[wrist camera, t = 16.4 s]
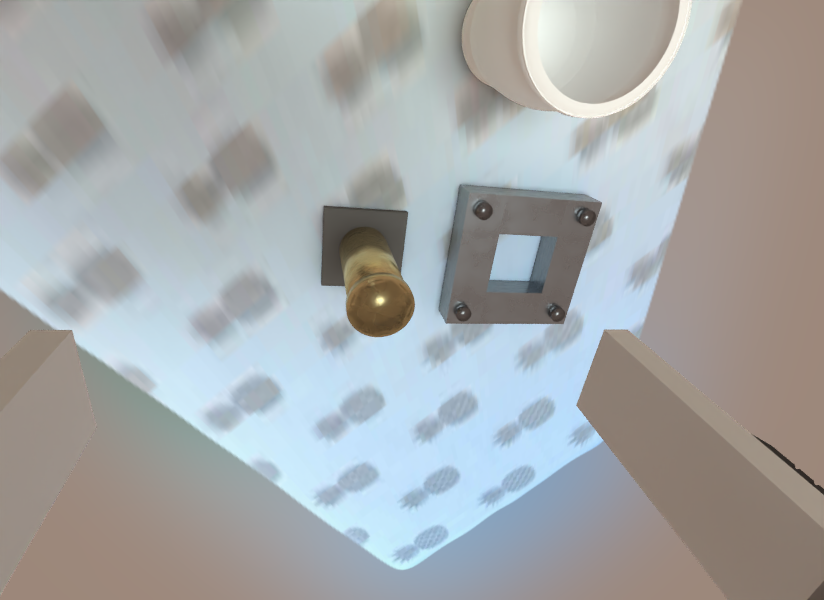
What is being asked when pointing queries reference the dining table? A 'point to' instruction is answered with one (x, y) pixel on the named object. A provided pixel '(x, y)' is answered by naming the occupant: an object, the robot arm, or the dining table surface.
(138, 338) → the dining table surface
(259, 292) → the dining table surface
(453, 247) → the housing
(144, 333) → the dining table surface
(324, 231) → the mat
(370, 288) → the brass-coloured knob
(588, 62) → the jar
